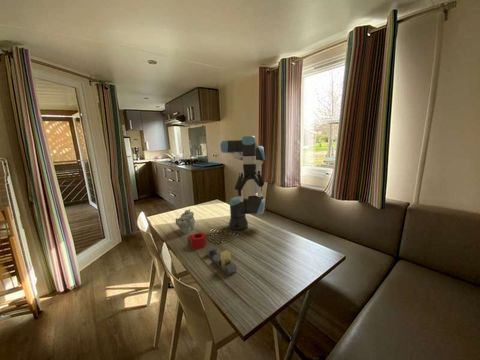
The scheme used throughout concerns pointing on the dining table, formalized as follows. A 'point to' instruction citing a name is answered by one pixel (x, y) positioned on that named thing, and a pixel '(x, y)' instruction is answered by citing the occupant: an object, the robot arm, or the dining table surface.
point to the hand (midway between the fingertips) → (250, 199)
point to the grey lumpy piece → (186, 222)
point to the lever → (198, 240)
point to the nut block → (225, 258)
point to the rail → (217, 259)
